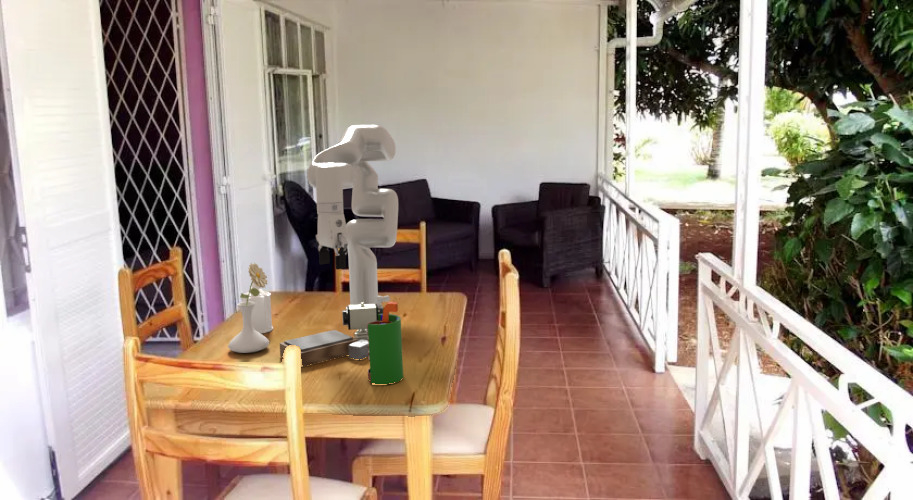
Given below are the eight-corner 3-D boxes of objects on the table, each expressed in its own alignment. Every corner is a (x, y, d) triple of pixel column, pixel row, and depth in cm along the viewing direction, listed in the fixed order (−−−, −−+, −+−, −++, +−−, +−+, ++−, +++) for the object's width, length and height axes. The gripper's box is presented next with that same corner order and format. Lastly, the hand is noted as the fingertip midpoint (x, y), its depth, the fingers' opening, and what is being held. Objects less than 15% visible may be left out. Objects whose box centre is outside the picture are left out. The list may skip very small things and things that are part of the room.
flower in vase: (247, 358, 203) (242, 270, 198) (220, 352, 209) (213, 266, 204) (282, 346, 214) (277, 262, 209) (254, 340, 220) (249, 258, 215)
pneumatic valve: (384, 343, 215) (382, 303, 213) (344, 345, 213) (342, 305, 211) (382, 337, 221) (381, 299, 219) (343, 340, 219) (341, 301, 217)
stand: (336, 343, 216) (335, 328, 215) (358, 353, 207) (357, 337, 206) (280, 356, 204) (279, 341, 203) (301, 367, 195) (300, 351, 194)
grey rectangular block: (362, 352, 207) (361, 339, 207) (373, 355, 205) (373, 341, 205) (348, 358, 202) (348, 345, 202) (360, 361, 200) (359, 347, 200)
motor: (368, 372, 191) (366, 298, 187) (403, 371, 192) (401, 296, 188) (367, 386, 181) (364, 308, 177) (403, 385, 182) (401, 306, 178)
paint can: (236, 330, 230) (232, 268, 226) (262, 324, 237) (258, 263, 233) (255, 337, 223) (251, 273, 219) (281, 330, 230) (277, 268, 226)
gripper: (356, 209, 207) (358, 269, 210) (327, 204, 220) (329, 260, 223) (333, 211, 202) (335, 272, 205) (304, 206, 216) (307, 263, 219)
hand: (332, 266), depth 214 cm, fingers open, 9 cm apart
